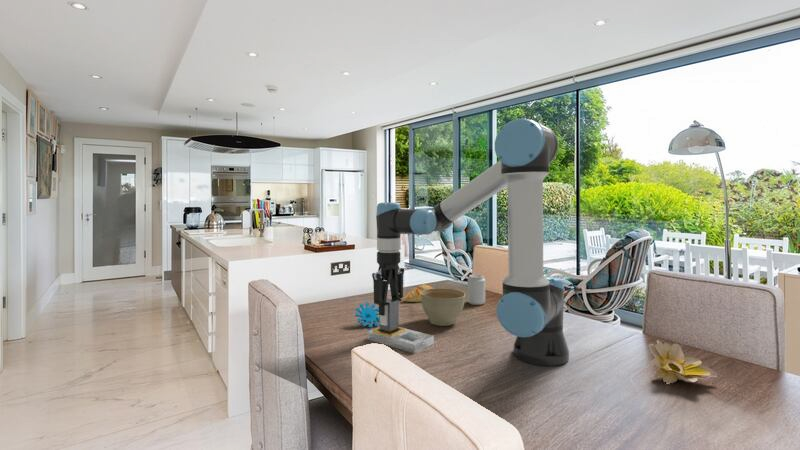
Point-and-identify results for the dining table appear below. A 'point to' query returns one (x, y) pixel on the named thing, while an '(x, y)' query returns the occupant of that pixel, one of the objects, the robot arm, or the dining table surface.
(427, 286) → the croissant
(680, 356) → the decorative flower
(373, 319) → the gear
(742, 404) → the dining table surface
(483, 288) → the can
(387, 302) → the peg
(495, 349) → the dining table surface
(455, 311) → the planter bowl
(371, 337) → the grey slotted holder
